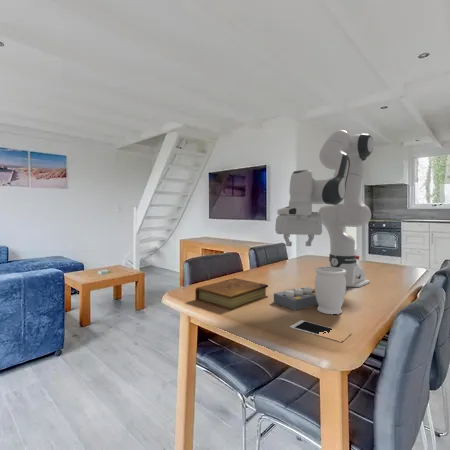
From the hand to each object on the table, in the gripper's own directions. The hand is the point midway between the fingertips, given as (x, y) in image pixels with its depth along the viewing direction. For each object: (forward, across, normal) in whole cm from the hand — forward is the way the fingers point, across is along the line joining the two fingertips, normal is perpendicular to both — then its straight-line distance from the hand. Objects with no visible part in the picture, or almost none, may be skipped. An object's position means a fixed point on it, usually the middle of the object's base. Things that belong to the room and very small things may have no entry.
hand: (298, 246), depth 120 cm
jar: (+22, -4, +14) cm, 26 cm away
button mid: (+20, +1, +2) cm, 20 cm away
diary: (+23, +22, -12) cm, 34 cm away
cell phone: (+23, +12, +27) cm, 38 cm away
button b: (+19, -4, +1) cm, 20 cm away
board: (+22, +1, +2) cm, 22 cm away
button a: (+20, +6, +3) cm, 21 cm away
